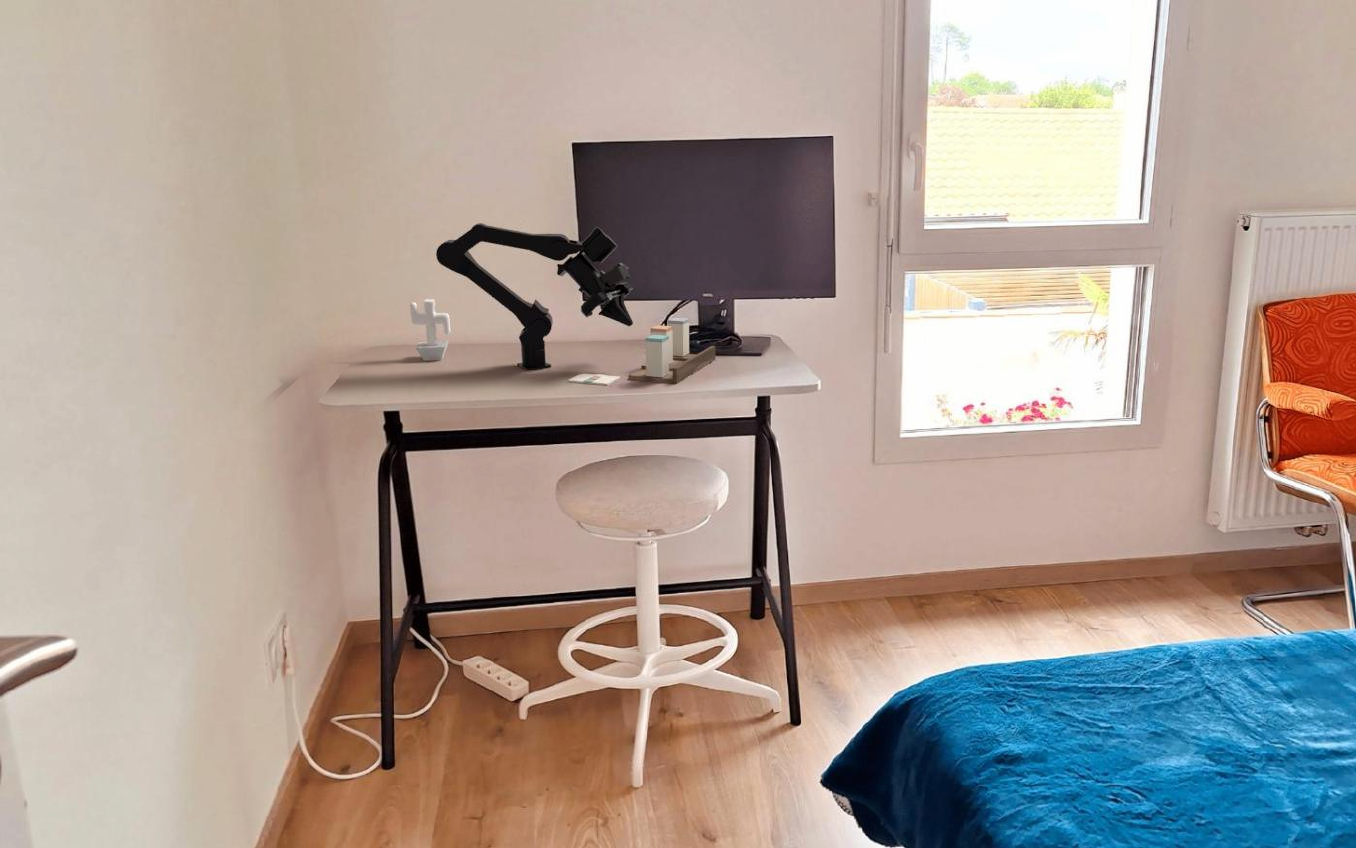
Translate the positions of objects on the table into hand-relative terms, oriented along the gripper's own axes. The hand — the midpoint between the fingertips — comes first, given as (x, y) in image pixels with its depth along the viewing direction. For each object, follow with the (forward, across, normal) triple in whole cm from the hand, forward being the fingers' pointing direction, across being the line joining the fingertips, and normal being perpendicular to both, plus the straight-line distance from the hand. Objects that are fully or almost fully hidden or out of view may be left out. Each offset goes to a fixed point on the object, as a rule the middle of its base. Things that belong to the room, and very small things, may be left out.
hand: (631, 324), depth 232 cm
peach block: (+11, +4, +3) cm, 12 cm away
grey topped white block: (+11, +15, +3) cm, 19 cm away
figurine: (-30, -6, +44) cm, 54 cm away
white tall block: (+14, -8, 0) cm, 16 cm away
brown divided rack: (+14, +3, +1) cm, 15 cm away
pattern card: (+5, -13, +10) cm, 17 cm away
